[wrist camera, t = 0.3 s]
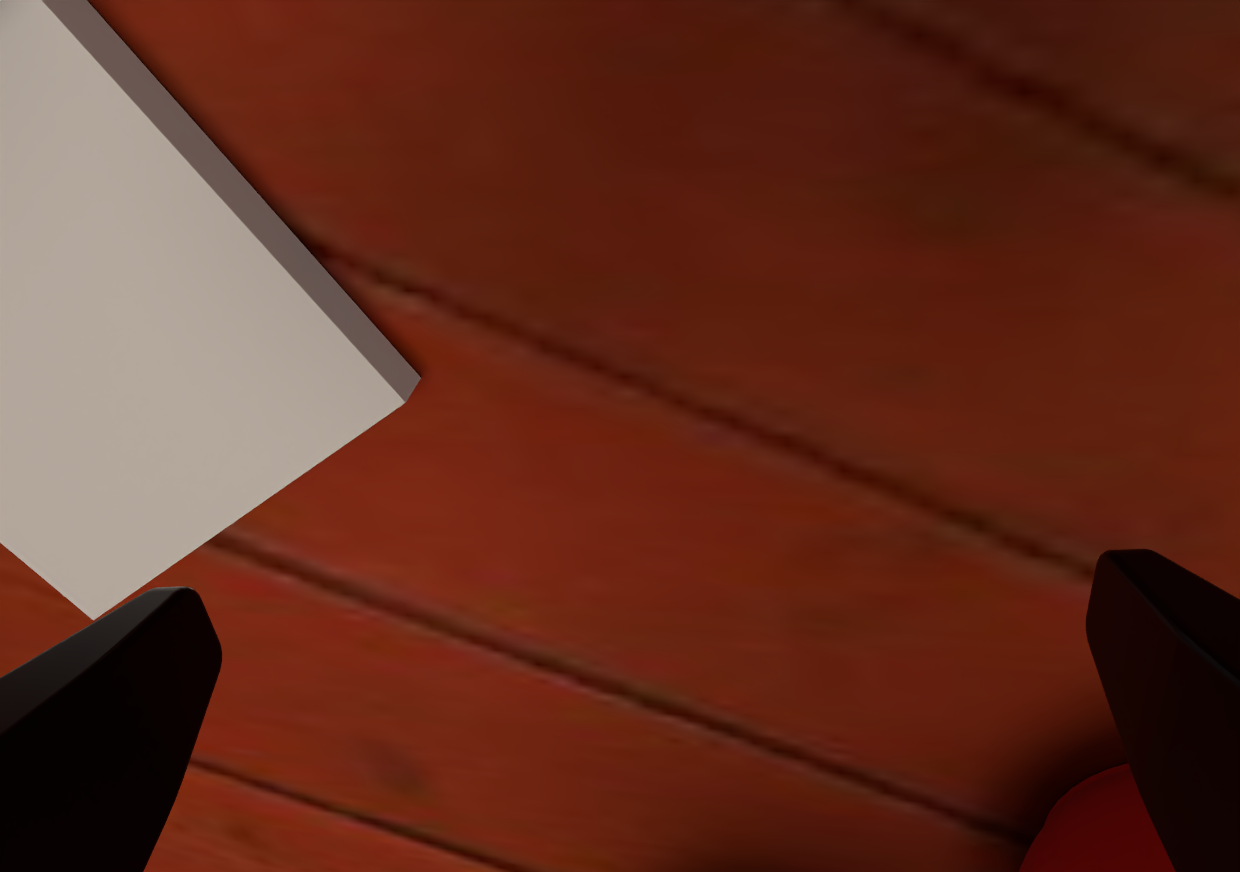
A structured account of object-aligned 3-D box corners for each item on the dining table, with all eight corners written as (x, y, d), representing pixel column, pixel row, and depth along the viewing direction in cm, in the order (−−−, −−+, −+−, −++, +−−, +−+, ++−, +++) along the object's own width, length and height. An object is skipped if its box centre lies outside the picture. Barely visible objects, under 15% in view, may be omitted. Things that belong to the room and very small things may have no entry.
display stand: (421, 377, 24) (368, 461, 20) (120, 589, 29) (29, 691, 25) (26, -68, 20) (-140, -72, 16) (-259, 262, 24) (-445, 323, 20)
